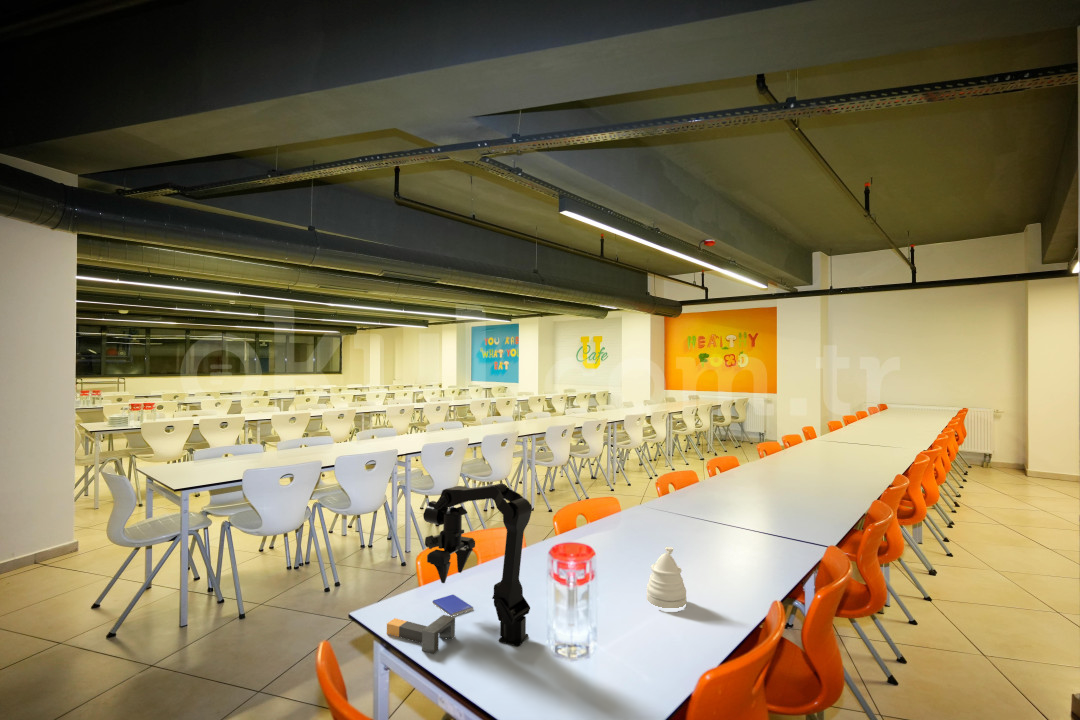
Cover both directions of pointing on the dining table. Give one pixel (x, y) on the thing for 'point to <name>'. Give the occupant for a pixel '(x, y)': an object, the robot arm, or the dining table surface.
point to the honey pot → (666, 583)
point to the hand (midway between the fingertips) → (451, 577)
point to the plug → (405, 629)
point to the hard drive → (452, 605)
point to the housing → (437, 633)
